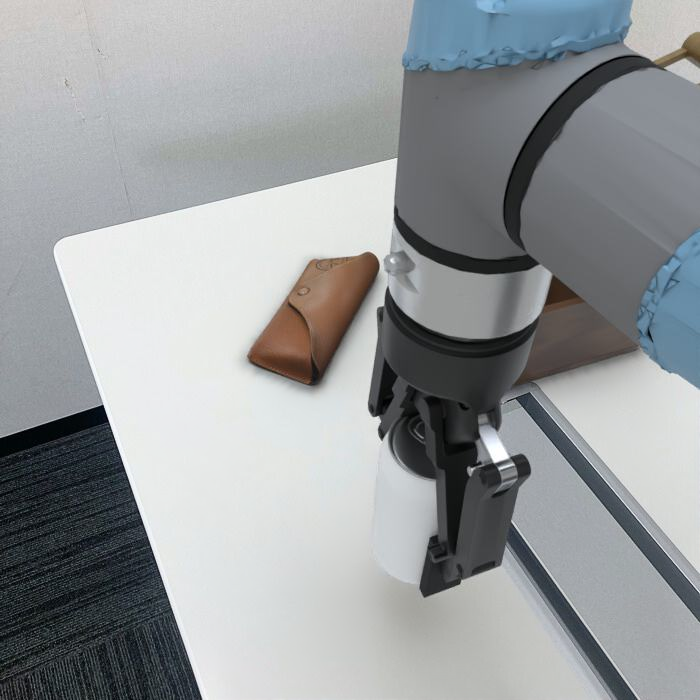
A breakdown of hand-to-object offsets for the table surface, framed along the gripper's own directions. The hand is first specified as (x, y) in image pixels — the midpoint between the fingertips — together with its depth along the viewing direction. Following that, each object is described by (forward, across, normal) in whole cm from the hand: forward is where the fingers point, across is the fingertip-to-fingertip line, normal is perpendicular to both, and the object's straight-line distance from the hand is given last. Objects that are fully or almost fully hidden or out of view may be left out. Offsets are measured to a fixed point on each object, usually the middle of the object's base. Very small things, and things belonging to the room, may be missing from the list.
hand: (416, 541), depth 53 cm
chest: (+9, -25, +26) cm, 37 cm away
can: (+1, 0, 0) cm, 1 cm away
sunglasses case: (+9, -32, +4) cm, 33 cm away
